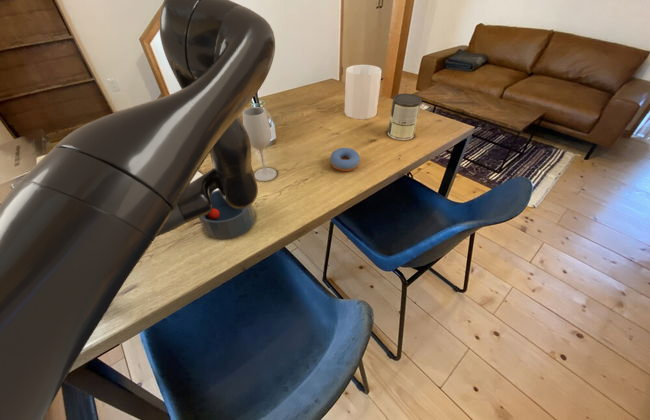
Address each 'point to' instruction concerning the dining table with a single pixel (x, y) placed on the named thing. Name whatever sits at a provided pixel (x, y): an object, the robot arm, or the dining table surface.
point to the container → (362, 91)
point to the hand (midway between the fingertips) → (46, 257)
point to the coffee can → (404, 116)
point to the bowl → (227, 219)
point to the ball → (214, 214)
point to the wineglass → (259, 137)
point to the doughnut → (344, 154)
